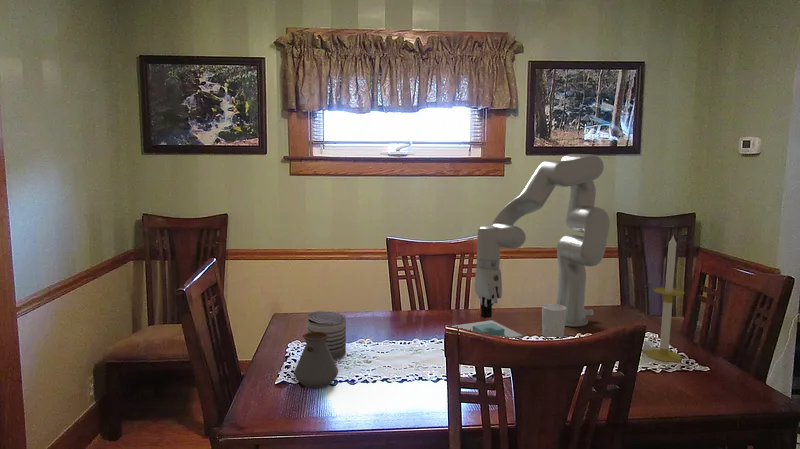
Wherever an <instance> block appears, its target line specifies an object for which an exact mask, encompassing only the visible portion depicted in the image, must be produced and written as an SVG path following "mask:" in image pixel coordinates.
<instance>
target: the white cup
mask: <svg viewBox="0 0 800 449" xmlns="http://www.w3.org/2000/svg"><path fill="white" fill-rule="evenodd" d="M566 311H567V308H566V307H565V306H563V305H558V304H557V303H545V304H543V305H542V306H541V323H542V324H541V326H542V327H541V329H542V336H543V337H544V336H545V337H544V338H546V337H561V339H563V338H564V337H565V335H564V333H565V327H566V326H565V320H566ZM551 340H559V339H558V338H555V339H553V338H552V339H551Z"/></svg>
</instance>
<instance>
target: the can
mask: <svg viewBox="0 0 800 449" xmlns="http://www.w3.org/2000/svg"><path fill="white" fill-rule="evenodd" d="M346 322H347V319H346V316H345V314H341V313H339V312H336V311H333V310H332V311H330V310H328V311H327V310H316V311H313V312H309V313H307V333H310V332H325V333H327V334H328V338H327V340H326V344H327V346H328V348H329V350H330V353H331V355H332V357H333V359H334V361H335V360H338V359H342V358H343V357H344V356H346V353H347V351H346V350H347V343H346V342H347V339H346V338H347V336H346V335H347V331H346V330H347V328H346V326H347V325H346V324H347V323H346Z"/></svg>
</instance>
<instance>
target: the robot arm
mask: <svg viewBox="0 0 800 449" xmlns="http://www.w3.org/2000/svg"><path fill="white" fill-rule="evenodd" d="M604 167H605V166H604V162H603V159H602V158H601V157H600V156H598V155H596V154H591V153H589V154H586V153H585V154H584V153H569V154H565V155H564V156H562V157H561V159H560V160H544V161H543V162H541V163H540V164H539V165H538V166H537V168H536V169H535V171H534V173H533V174H532V175H531V177H530V179H529V181H528V182H527V183H526V185H525V187H524V188H523V189H522V191H521V192H520V194H519V195H518V196H516V197H514V199H512V200H511V201H510V202H509V203H507V204H506V205H504V206H503V208H502V209H500V211H499V212H497V215H496V217H495V218H494V219H493V221H492V223H491V224H490V225H481V226H479V227H478V228H477V245H476V248H477V249H476V269H475V274H474V275H475V276H474V277H475V278H474V292H475V294H476V296H477V297H478V298H479V301H480V302H479V303H480V305H481V307H480V317H481V318H483V319H488V318H492V314H493V312H492V310H493V306H494V304H498V303H499V302H498V299H501V298H502V296H503V283H502V273H501V269H500V263H501V249H502V248H503V249H515V250H516V249H518V248H520V247H522V246H523V245H524V244H525V242H526V233H525V231H524V230H523V229H522V228H520V227H519V226H516V225H515V224H516V222H518V221H519V219H521V218H522V217H525V216H527V215H529V214H533V213H534V212H537V211H539V210H541V209H542V208H543V207H544V205H545V204H546V202H547V200H548V199H549V198H550V197H551V194H552V193H553V191H554V189H555V188H556V187H563V188H566V187H570V194H569V195H570V196H569V201H568V206H567V211H566V220H565V224H566V226H567V228H568V229H570V230H572V231H575V232H578V233H582V234H583V236H582V235H578V234H566V235H563V236H561V238H559V240H558V242H557V245H556V257H557V262H558V263H557V264H558V269H557V270H558V271H557V272H558V274H557V275H558V276H557V289H556V290H557V294H556V304H558V305H563V306H565V307H566V308H567V311H566V320H565V327H572V328H573V327H575V328H576V327H577V328H579V327H585V326H587V325H588V324H589V319H588V318H587V316H592V315H594V313H595V311H594V310H593V309H586V308H585V301H586V299H585V298H586V284H587V272H586V267H596V266H598V265H599V264H601V262H602V260H603V259H604V256H605V253H606V247H607V243H608V236H609V230H610V226H611V224H610V216H609V214H608V213H607V211H606V210H605V209H603V208H601V207H599V206H595V203H596V202H595V201H596V195H597V194H596V193H597V192H596V191H597V188H596V185H595V181H594V180H597V179H598V178H600V177H601V175H602V174H603V172H604Z"/></svg>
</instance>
